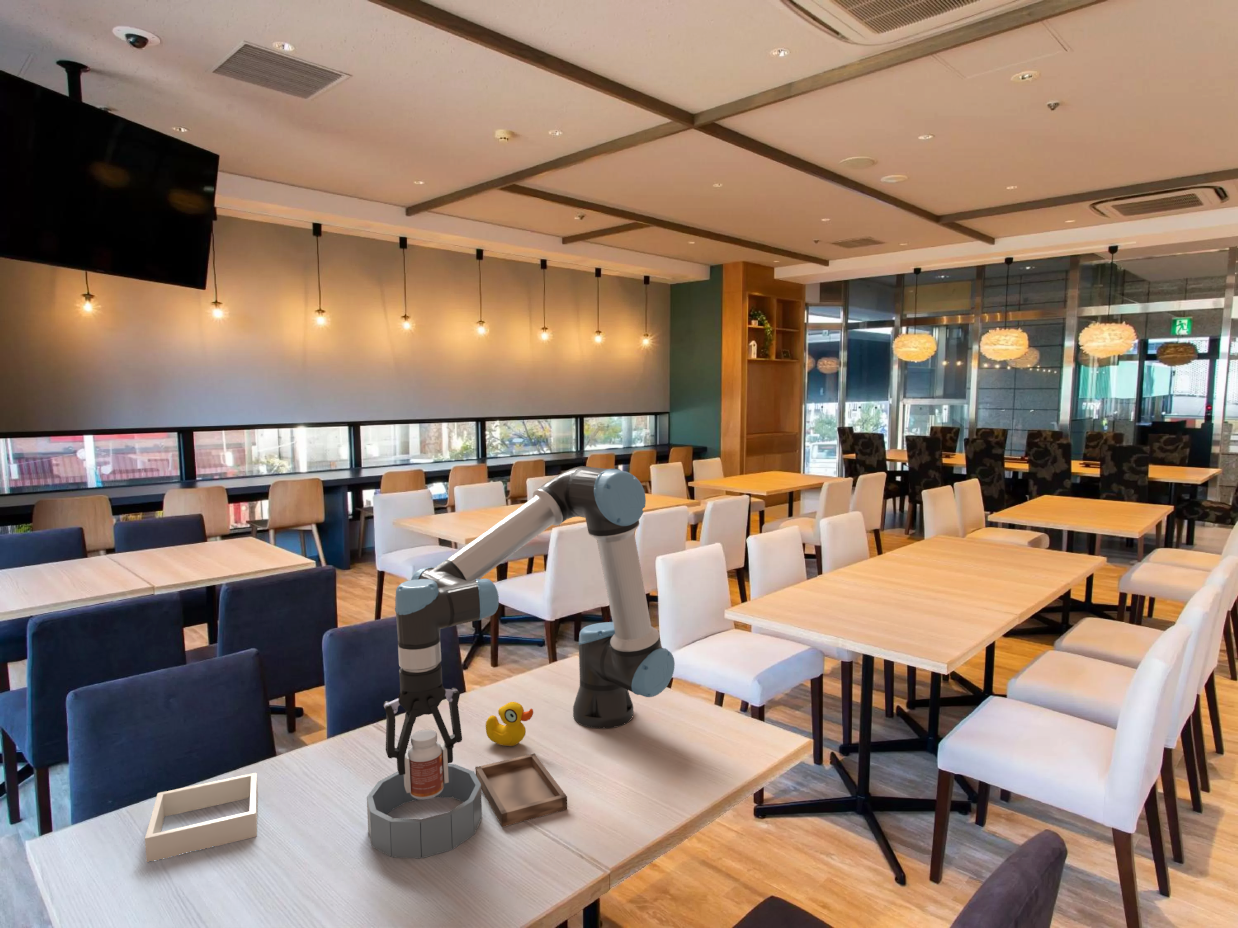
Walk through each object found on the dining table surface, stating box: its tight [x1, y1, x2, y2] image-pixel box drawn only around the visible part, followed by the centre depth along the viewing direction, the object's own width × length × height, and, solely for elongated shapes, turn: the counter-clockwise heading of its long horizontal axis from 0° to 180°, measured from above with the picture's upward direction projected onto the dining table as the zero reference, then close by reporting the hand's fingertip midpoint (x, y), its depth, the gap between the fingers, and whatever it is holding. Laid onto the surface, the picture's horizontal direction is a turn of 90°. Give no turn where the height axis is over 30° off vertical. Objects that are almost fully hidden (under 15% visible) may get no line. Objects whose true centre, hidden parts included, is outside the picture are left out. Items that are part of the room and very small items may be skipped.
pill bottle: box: [407, 729, 444, 800], centre depth 134 cm, size 6×6×11 cm
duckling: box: [485, 701, 534, 747], centre depth 165 cm, size 11×5×10 cm, turn 79°
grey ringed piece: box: [366, 763, 483, 859], centre depth 135 cm, size 20×20×6 cm
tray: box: [475, 753, 568, 828], centre depth 145 cm, size 13×19×3 cm
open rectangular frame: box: [144, 772, 259, 863], centre depth 135 cm, size 17×16×4 cm
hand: (426, 783), depth 135 cm, fingers closed on pill bottle, 6 cm apart
